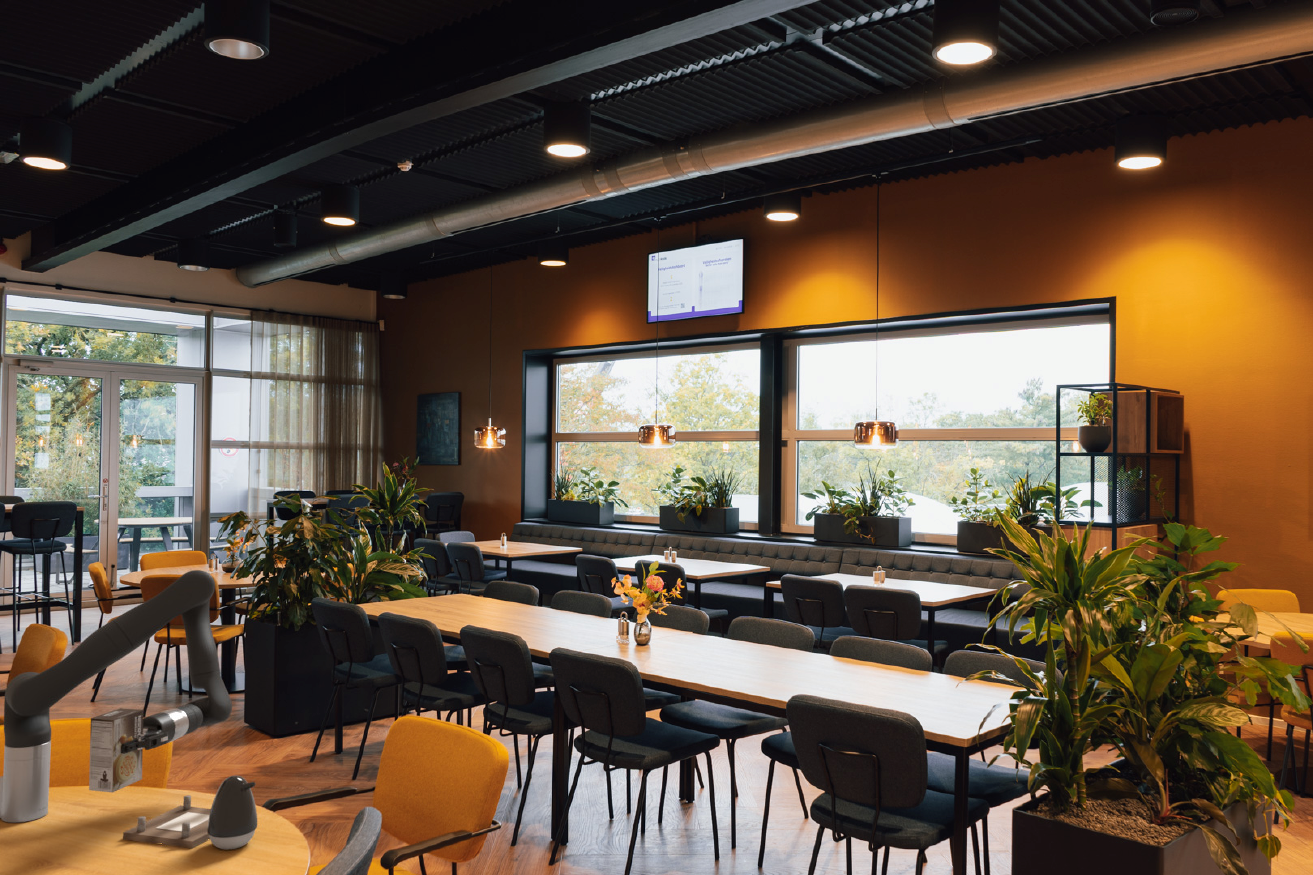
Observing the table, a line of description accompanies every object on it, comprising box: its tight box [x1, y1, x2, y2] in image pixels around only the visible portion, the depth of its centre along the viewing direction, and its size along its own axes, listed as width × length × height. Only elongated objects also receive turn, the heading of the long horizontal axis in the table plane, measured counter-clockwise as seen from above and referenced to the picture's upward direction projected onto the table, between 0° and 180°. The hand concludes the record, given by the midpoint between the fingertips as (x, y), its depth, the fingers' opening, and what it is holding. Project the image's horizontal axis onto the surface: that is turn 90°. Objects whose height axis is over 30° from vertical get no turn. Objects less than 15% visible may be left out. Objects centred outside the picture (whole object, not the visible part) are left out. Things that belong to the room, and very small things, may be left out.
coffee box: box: [88, 707, 144, 793], centre depth 217 cm, size 9×6×16 cm
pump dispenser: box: [207, 775, 258, 851], centre depth 214 cm, size 10×10×15 cm
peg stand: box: [122, 794, 211, 849], centre depth 222 cm, size 18×18×4 cm
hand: (109, 747), depth 215 cm, fingers closed on coffee box, 6 cm apart
